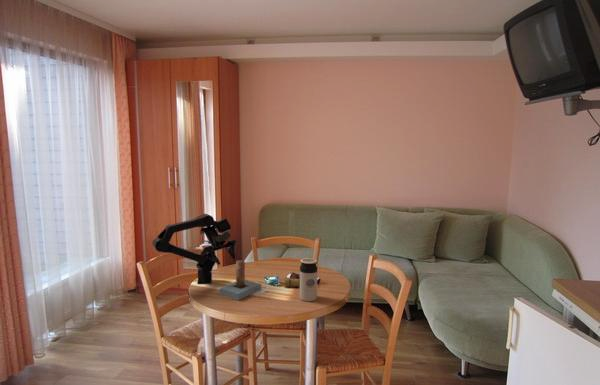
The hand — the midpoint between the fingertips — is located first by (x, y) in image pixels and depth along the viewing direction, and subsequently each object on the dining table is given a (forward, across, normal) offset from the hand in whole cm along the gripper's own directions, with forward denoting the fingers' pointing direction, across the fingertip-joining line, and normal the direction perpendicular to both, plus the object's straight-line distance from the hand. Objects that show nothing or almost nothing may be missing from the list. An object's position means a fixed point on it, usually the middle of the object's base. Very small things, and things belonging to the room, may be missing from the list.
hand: (227, 261), depth 187 cm
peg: (+16, -1, +1) cm, 16 cm away
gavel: (+23, +28, -2) cm, 37 cm away
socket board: (+16, -1, +1) cm, 16 cm away
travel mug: (+37, +15, -18) cm, 44 cm away
